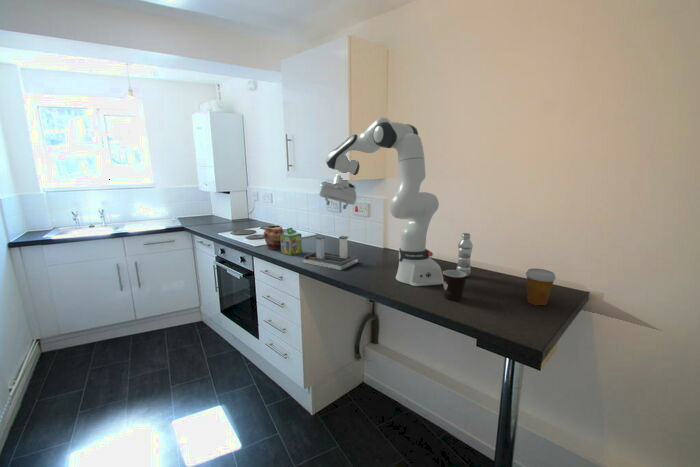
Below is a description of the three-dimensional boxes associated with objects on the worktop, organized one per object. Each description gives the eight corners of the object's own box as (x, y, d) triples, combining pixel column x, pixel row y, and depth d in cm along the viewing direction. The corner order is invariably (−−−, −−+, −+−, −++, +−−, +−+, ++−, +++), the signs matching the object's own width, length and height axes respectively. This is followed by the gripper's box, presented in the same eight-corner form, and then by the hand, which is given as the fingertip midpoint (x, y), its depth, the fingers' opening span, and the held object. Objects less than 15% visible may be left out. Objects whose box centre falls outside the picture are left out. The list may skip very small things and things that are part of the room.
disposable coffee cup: (554, 302, 119) (558, 271, 117) (548, 310, 112) (553, 278, 110) (526, 295, 126) (529, 266, 123) (519, 302, 119) (523, 272, 116)
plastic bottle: (469, 274, 150) (473, 233, 146) (470, 278, 144) (474, 236, 140) (455, 272, 152) (458, 232, 148) (456, 277, 146) (459, 235, 142)
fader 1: (324, 258, 168) (324, 236, 166) (321, 260, 165) (320, 237, 163) (319, 257, 170) (319, 236, 167) (315, 259, 167) (315, 237, 165)
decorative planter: (258, 246, 203) (256, 225, 200) (274, 243, 211) (273, 222, 208) (273, 252, 189) (272, 229, 186) (291, 248, 197) (290, 226, 194)
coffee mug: (466, 303, 118) (468, 277, 116) (442, 301, 120) (443, 276, 118) (461, 291, 129) (463, 268, 127) (439, 290, 131) (441, 266, 129)
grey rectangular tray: (357, 262, 169) (357, 255, 168) (340, 270, 156) (340, 263, 155) (321, 255, 182) (321, 249, 181) (303, 262, 168) (303, 256, 168)
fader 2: (347, 258, 169) (347, 236, 166) (344, 259, 166) (344, 237, 163) (342, 257, 170) (342, 235, 168) (339, 258, 168) (338, 236, 165)
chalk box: (291, 255, 182) (290, 230, 179) (280, 253, 187) (279, 228, 184) (302, 252, 189) (301, 227, 186) (291, 250, 194) (290, 226, 191)
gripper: (322, 177, 172) (318, 198, 166) (358, 187, 176) (355, 207, 169) (320, 184, 178) (316, 204, 171) (355, 193, 181) (352, 213, 175)
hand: (336, 206), depth 170 cm, fingers open, 8 cm apart
